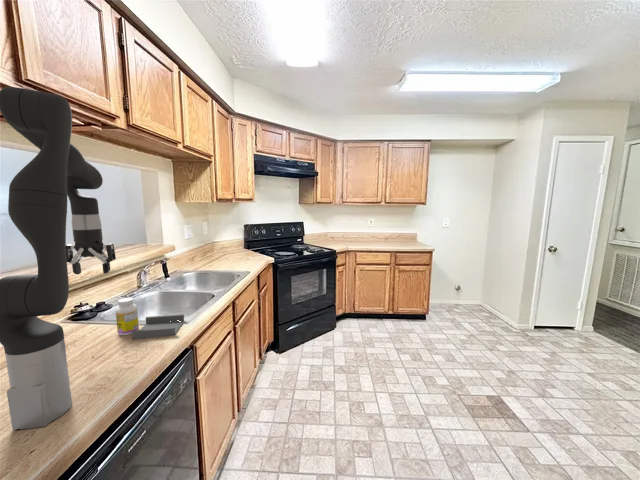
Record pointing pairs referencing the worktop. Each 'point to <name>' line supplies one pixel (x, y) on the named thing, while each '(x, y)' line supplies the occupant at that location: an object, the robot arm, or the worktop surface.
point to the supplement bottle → (126, 316)
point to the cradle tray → (159, 326)
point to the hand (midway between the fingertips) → (92, 273)
